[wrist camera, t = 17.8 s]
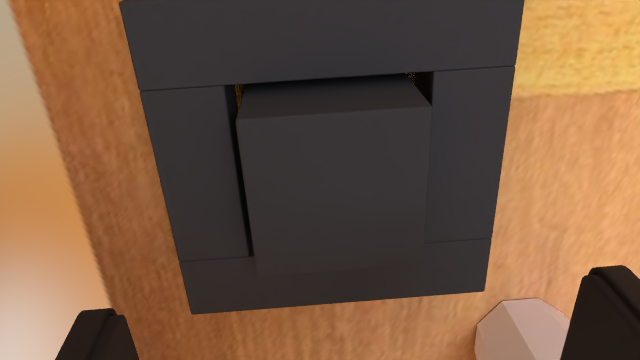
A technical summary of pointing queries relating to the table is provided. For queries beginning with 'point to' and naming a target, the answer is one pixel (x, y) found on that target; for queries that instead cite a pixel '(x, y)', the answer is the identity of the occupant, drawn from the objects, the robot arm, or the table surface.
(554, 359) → the faceted bottle
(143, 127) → the table surface
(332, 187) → the black square block
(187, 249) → the frame pad
